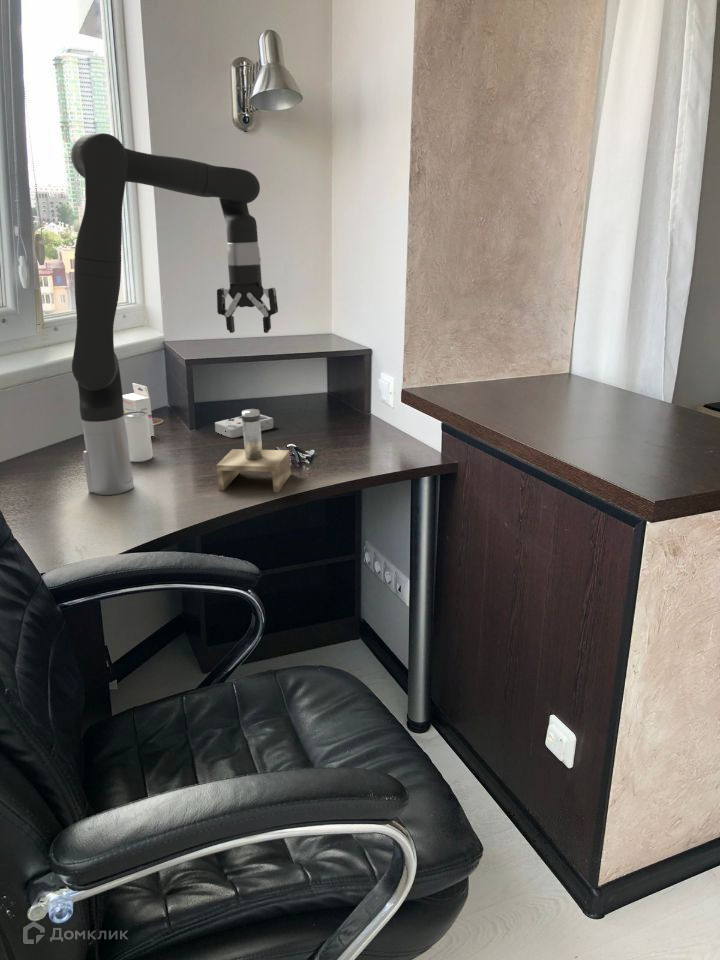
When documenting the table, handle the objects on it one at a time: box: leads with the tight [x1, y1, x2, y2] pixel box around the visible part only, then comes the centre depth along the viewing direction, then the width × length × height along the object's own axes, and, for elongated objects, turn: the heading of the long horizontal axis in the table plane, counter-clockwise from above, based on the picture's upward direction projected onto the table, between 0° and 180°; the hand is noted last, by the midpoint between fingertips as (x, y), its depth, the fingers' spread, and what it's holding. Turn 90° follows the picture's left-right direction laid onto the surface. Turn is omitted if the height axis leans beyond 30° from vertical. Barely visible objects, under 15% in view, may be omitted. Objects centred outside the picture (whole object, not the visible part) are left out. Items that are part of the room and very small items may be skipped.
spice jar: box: [241, 408, 263, 460], centre depth 172 cm, size 4×4×11 cm
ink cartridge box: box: [123, 382, 155, 437], centre depth 213 cm, size 9×5×15 cm, turn 47°
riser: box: [216, 448, 292, 493], centre depth 175 cm, size 14×12×6 cm
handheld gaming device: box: [214, 413, 274, 439], centre depth 217 cm, size 9×14×4 cm, turn 132°
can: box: [124, 411, 154, 463], centre depth 193 cm, size 6×6×12 cm
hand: (249, 332), depth 182 cm, fingers open, 8 cm apart
